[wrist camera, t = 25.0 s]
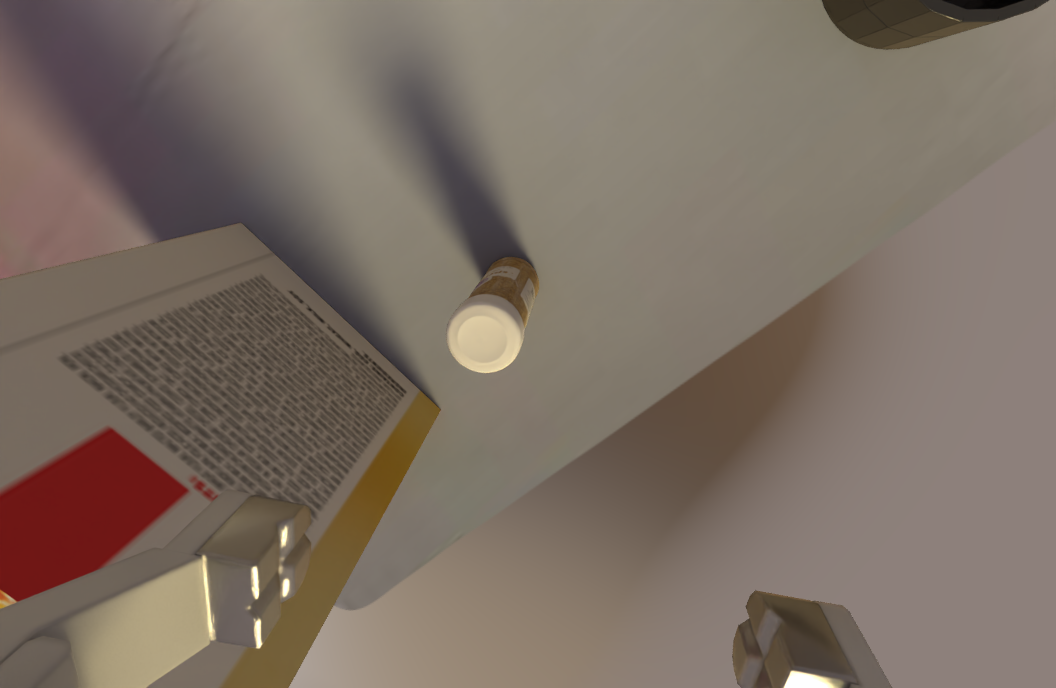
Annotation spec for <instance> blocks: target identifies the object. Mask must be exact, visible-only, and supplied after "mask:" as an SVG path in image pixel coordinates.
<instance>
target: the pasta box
mask: <svg viewBox="0 0 1056 688" xmlns="http://www.w3.org/2000/svg"><path fill="white" fill-rule="evenodd" d="M440 410H441V409H439V408H438V407H437V406H436V405H435V404H434V403H433V402H432V401H431V400H430V399H429V398H428V397H427V396H426V395H425V394H423V393H422V392H421V391H420V390H419V389H418V388H417V387H416V386H415V385H414V384H413V383H412V382H411V381H410V380H409V379H407V378H406V377H405V376H404V375H403V374H402V373H401V372H400V371H399V370H398V369H397V368H396V367H395V366H394V365H393V364H391V363H390V362H389V361H388V360H387V359H386V358H385V357H384V356H383V355H382V354H381V353H380V352H379V351H378V350H377V349H375V348H374V347H373V346H372V345H371V344H370V343H369V342H368V341H367V340H366V339H365V338H364V337H363V336H362V335H361V334H359V333H358V332H357V331H356V330H355V329H354V328H353V327H352V326H351V325H350V324H349V323H348V322H347V321H346V320H345V319H343V318H342V317H341V316H340V315H339V314H338V313H337V312H336V311H335V310H334V309H333V308H332V307H331V306H330V305H329V304H327V303H326V302H325V301H324V300H323V299H322V298H321V297H320V296H319V295H318V294H317V293H316V292H315V291H314V290H313V289H311V288H310V287H309V286H308V285H307V284H306V283H305V282H304V281H303V280H302V279H301V278H300V277H299V276H298V275H296V274H295V273H294V272H293V271H292V270H291V269H290V268H289V267H288V266H287V265H286V264H285V263H284V262H283V261H282V260H280V259H279V258H278V257H277V256H276V255H275V254H274V253H273V252H272V251H271V250H270V249H269V248H268V247H267V246H266V245H264V244H263V243H262V242H261V241H260V240H259V239H258V238H257V237H256V236H255V235H254V234H253V233H252V232H251V231H250V230H248V229H247V228H246V227H245V226H244V225H243V224H242V223H238V224H234V225H230V226H225V227H221V228H217V229H212V230H208V231H204V232H200V233H195V234H191V235H187V236H183V237H178V238H174V239H170V240H166V241H161V242H157V243H153V244H148V245H144V246H140V247H136V248H131V249H127V250H123V251H119V252H114V253H110V254H106V255H101V256H97V257H93V258H89V259H84V260H80V261H76V262H72V263H67V264H63V265H59V266H55V267H50V268H46V269H42V270H37V271H33V272H29V273H25V274H20V275H16V276H12V277H8V278H3V279H0V609H1V608H4V607H6V606H9V605H11V604H14V603H16V602H19V601H21V600H24V599H26V598H29V597H31V596H34V595H36V594H39V593H41V592H44V591H46V590H49V589H51V588H54V587H56V586H59V585H61V584H64V583H66V582H69V581H71V580H74V579H76V578H79V577H81V576H84V575H86V574H89V573H91V572H94V571H96V570H99V569H101V568H104V567H106V566H109V565H111V564H114V563H116V562H119V561H121V560H124V559H126V558H129V557H131V556H134V555H136V554H139V553H141V552H144V551H146V550H149V549H151V548H154V547H155V548H161V549H163V548H164V547H165V546H166V545H167V544H168V543H169V542H170V541H171V540H172V539H173V538H175V537H176V536H177V535H178V534H179V533H180V532H181V531H182V530H183V529H184V528H185V527H186V526H187V525H188V524H189V523H190V522H191V521H192V520H193V519H194V518H196V517H197V516H198V515H199V514H200V513H201V512H202V511H203V510H204V509H205V508H206V507H207V506H208V505H209V504H210V503H211V502H212V501H213V500H214V499H215V498H217V497H218V496H219V495H220V494H221V493H222V492H224V491H227V490H230V489H231V490H236V491H240V492H245V493H249V494H253V495H256V494H257V495H261V496H266V497H271V498H275V499H280V500H284V501H289V502H294V503H298V504H303V505H307V506H308V507H309V508H310V509H311V525H310V526H309V527H308V529H307V530H306V532H305V535H306V536H307V537H308V539H309V540H310V542H311V558H310V563H309V567H308V570H307V573H306V575H305V578H304V580H303V583H302V584H301V586H300V588H299V589H298V591H297V592H296V594H295V596H293V597H291V598H290V599H288V600H286V601H284V602H283V603H281V617H280V619H279V620H278V622H277V623H276V625H275V627H274V628H273V630H272V631H271V633H270V634H269V636H268V637H267V639H266V640H265V642H264V643H263V645H262V646H261V648H260V649H256V648H250V647H244V646H239V645H233V644H227V643H221V642H215V641H210V644H209V645H208V646H206V647H205V648H203V649H202V650H200V651H199V652H197V653H196V654H194V655H193V656H191V657H190V658H188V659H187V660H185V661H184V662H182V663H181V664H179V665H178V666H176V667H175V668H174V669H172V670H171V671H169V672H168V673H166V674H165V675H163V676H162V677H160V678H159V679H157V680H156V681H154V682H153V683H151V684H150V685H148V686H147V687H145V688H288V687H289V686H290V684H291V682H292V680H293V678H294V677H295V675H296V673H297V671H298V669H299V668H300V666H301V664H302V662H303V660H304V659H305V657H306V655H307V653H308V651H309V649H310V648H311V646H312V644H313V642H314V640H315V639H316V637H317V635H318V633H319V631H320V629H321V627H322V626H323V624H324V622H325V620H326V618H327V617H328V615H329V613H330V611H331V609H332V607H333V606H334V604H335V602H336V600H337V598H338V597H339V595H340V593H341V591H342V589H343V587H344V586H345V584H346V582H347V580H348V578H349V576H350V575H351V573H352V571H353V569H354V567H355V565H356V564H357V562H358V560H359V558H360V556H361V555H362V553H363V551H364V549H365V547H366V545H367V544H368V542H369V540H370V538H371V536H372V534H373V533H374V531H375V529H376V527H377V525H378V523H379V522H380V520H381V518H382V516H383V514H384V513H385V511H386V509H387V507H388V505H389V503H390V502H391V500H392V498H393V496H394V494H395V492H396V491H397V489H398V487H399V485H400V483H401V482H402V480H403V478H404V476H405V474H406V472H407V471H408V469H409V467H410V465H411V463H412V461H413V460H414V458H415V456H416V454H417V452H418V450H419V449H420V447H421V445H422V443H423V441H424V440H425V438H426V436H427V434H428V432H429V430H430V429H431V427H432V425H433V423H434V421H435V419H436V418H437V416H438V414H439V412H440Z"/></svg>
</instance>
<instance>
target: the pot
mask: <svg viewBox="0 0 1056 688" xmlns="http://www.w3.org/2000/svg"><path fill="white" fill-rule="evenodd" d="M822 1H823V4H824V6H825V9H826V11H827V13H828V15H829V17H830V18H831V20H832V22H833V23H834V24H835V25H836V27H837V28H838V29H839V30H840V31H841V32H842V33H843V34H845V35H846V36H847V37H848V38H850V39H852V40H853V41H855V42H857V43H859V44H862V45H864V46H867V47H871V48H876V49H886V50H888V49H901V48H909V47H913V46H916V45H920V44H923V43H926V42H930V41H933V40H937V39H940V38H944V37H947V36H950V35H954V34H957V33H961V32H964V31H968V30H971V29H974V28H978V27H981V26H985V25H988V24H992V23H995V22H998V21H1002V20H1005V19H1008V18H1011V17H1014V16H1017V15H1020V14H1023V13H1026V12H1029V11H1032V10H1034V9H1036V8H1038V7H1040V6H1041V5H1043V4H1044V3H1046V2H1047V1H1049V0H822Z"/></svg>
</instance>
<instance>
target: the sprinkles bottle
mask: <svg viewBox="0 0 1056 688" xmlns="http://www.w3.org/2000/svg"><path fill="white" fill-rule="evenodd" d="M538 290H539V280H538V276H537V274H536V271H535V270H534V269H533V267H532V266H531V265H530V264H529V263H528V262H527V261H525V260H523V259H520V258H516V257H506V258H502V259H500V260H498V261H496V262H494V263H493V264H492V265H491V266H490V267H489V269H488V271H487V272H486V275H485V276H484V277H483V278H482V279H481V281H480V282H479V284H478V285H477V286H476V288H475V289H474V291H473V292H472V293H471V295H470V297H469V298H468V299H467V300H465V301H464V302H463V303H462V304H460V306H459V307H458V308H457V309H456V310H455V312H454V313H453V315H452V316H451V318H450V320H449V322H448V325H447V330H446V340H447V344H448V347H449V350H450V352H451V353H452V355H453V356H454V358H455V359H456V360H457V361H458V362H459V363H460V364H462V365H463V366H464V367H466V368H468V369H470V370H473V371H476V372H482V373H491V372H496V371H499V370H501V369H503V368H505V367H507V366H508V365H509V364H510V363H512V361H513V360H514V359H515V358H516V356H517V354H518V352H519V350H520V348H521V345H522V342H523V339H524V329H525V327H526V324H527V322H528V318H529V315H530V312H531V310H532V307H533V303H534V300H535V298H536V296H537V293H538Z"/></svg>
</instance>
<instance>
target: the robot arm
mask: <svg viewBox="0 0 1056 688" xmlns="http://www.w3.org/2000/svg"><path fill="white" fill-rule="evenodd" d="M310 525H311V509H310V508H309V507H308V506H307V505H303V504H298V503H294V502H289V501H284V500H280V499H275V498H271V497H266V496H261V495H257V494H256V495H253V494H249V493H245V492H240V491H236V490H231V489H230V490H227V491H224V492H222V493H221V494H220V495H219V496H218V497H217V498H215V499H214V500H213V501H212V502H211V503H210V504H209V505H208V506H207V507H206V508H205V509H204V510H203V511H202V512H201V513H200V514H199V515H198V516H197V517H196V518H194V519H193V520H192V521H191V522H190V523H189V524H188V525H187V526H186V527H185V528H184V529H183V530H182V531H181V532H180V533H179V534H178V535H177V536H176V537H175V538H173V539H172V540H171V541H170V542H169V543H168V544H167V545H166V546H165V547H164V548H163V549H161V548H155V547H154V548H151V549H149V550H146V551H144V552H141V553H139V554H136V555H134V556H131V557H129V558H126V559H124V560H121V561H119V562H116V563H114V564H111V565H109V566H106V567H104V568H101V569H99V570H96V571H94V572H91V573H89V574H86V575H84V576H81V577H79V578H76V579H74V580H71V581H69V582H66V583H64V584H61V585H59V586H56V587H54V588H51V589H49V590H46V591H44V592H41V593H39V594H36V595H34V596H31V597H29V598H26V599H24V600H21V601H19V602H16V603H14V604H11V605H9V606H6V607H4V608H1V609H0V688H145V687H147V686H148V685H150V684H151V683H153V682H154V681H156V680H157V679H159V678H160V677H162V676H163V675H165V674H166V673H168V672H169V671H171V670H172V669H174V668H175V667H176V666H178V665H179V664H181V663H182V662H184V661H185V660H187V659H188V658H190V657H191V656H193V655H194V654H196V653H197V652H199V651H200V650H202V649H203V648H205V647H206V646H208V645H209V644H210V641H215V642H221V643H227V644H233V645H239V646H244V647H250V648H256V649H260V648H261V646H262V645H263V643H264V642H265V640H266V639H267V637H268V636H269V634H270V633H271V631H272V630H273V628H274V627H275V625H276V623H277V622H278V620H279V619H280V617H281V603H283V602H284V601H286V600H288V599H290V598H291V597H293V596H295V594H296V592H297V591H298V589H299V588H300V586H301V584H302V583H303V580H304V578H305V575H306V573H307V570H308V567H309V563H310V558H311V542H310V540H309V539H308V537H307V536H306V535H305V532H306V530H307V529H308V527H309V526H310ZM746 609H747V612H748V615H749V619H748V620H746V621H745V622H743V623H742V624H740V625H738V628H737V631H736V634H735V637H734V642H733V656H732V657H733V666H734V672H735V676H736V679H737V683H738V685H739V686H740V687H741V688H892V686H891V685H890V683H889V681H888V679H887V678H886V676H885V674H884V672H883V671H882V669H881V667H880V665H879V663H878V662H877V660H876V658H875V656H874V654H873V653H872V651H871V649H870V647H869V646H868V644H867V642H866V640H865V639H864V637H863V635H862V633H861V631H860V630H859V628H858V626H857V624H856V622H855V621H854V619H853V617H852V615H851V613H850V612H849V611H848V610H847V609H846V608H845V607H843V606H842V605H836V604H831V603H825V602H819V601H810V600H805V599H799V598H794V597H788V596H783V595H777V594H772V593H766V592H761V591H754V592H753V593H752V594H751V596H750V597H749V600H748V602H747V605H746Z"/></svg>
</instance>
